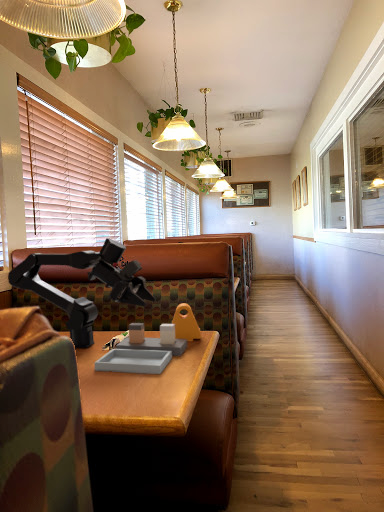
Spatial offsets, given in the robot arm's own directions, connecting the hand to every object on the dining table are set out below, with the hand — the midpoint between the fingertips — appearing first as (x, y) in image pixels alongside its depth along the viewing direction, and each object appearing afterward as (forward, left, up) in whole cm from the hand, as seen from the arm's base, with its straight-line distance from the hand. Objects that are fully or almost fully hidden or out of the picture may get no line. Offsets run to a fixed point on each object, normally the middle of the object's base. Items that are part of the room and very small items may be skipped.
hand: (150, 302), depth 115 cm
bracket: (+8, +13, -15) cm, 21 cm away
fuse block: (+1, -1, -15) cm, 15 cm away
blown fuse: (-4, -1, -15) cm, 15 cm away
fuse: (+6, -1, -15) cm, 16 cm away
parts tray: (0, -14, -15) cm, 20 cm away
